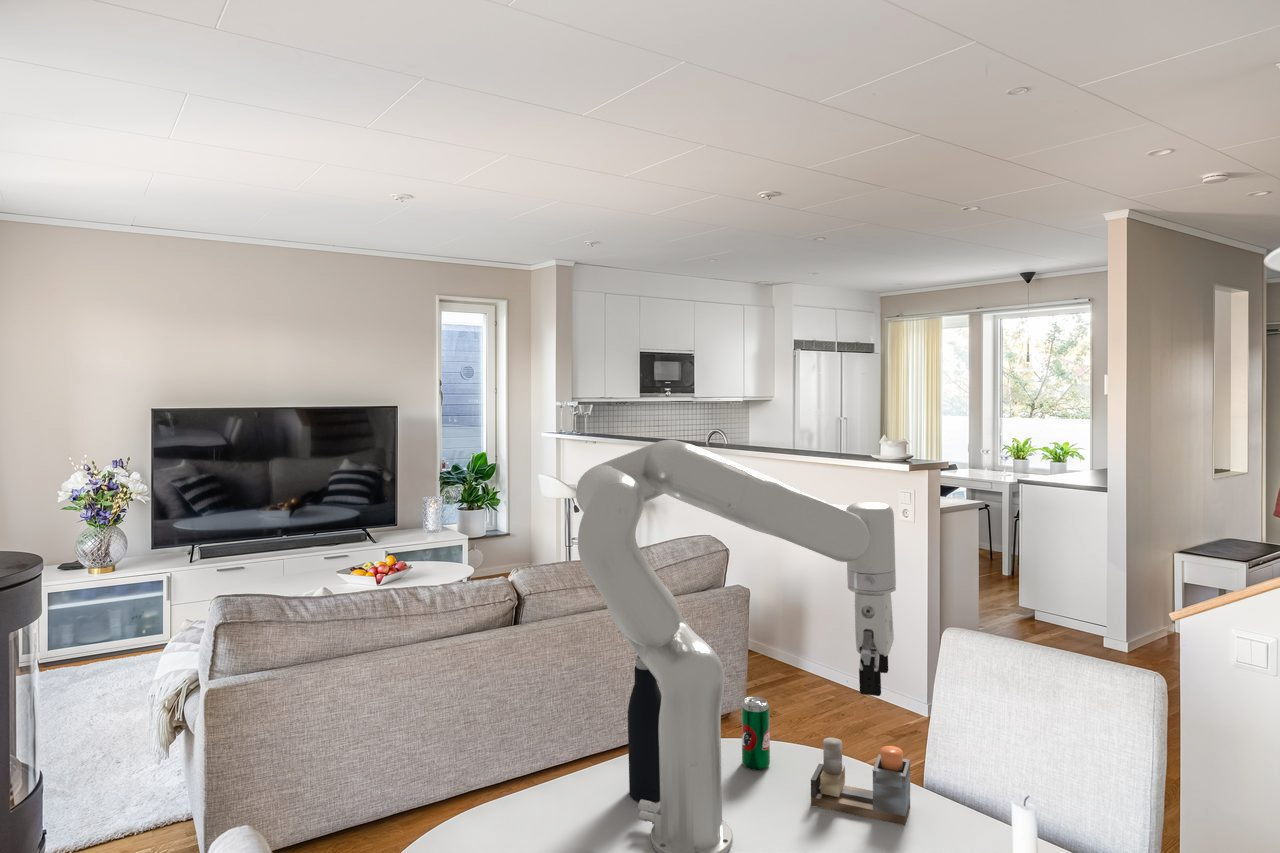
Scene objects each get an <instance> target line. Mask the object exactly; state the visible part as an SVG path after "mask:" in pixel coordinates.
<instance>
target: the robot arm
mask: <svg viewBox="0 0 1280 853" xmlns="http://www.w3.org/2000/svg"><path fill="white" fill-rule="evenodd" d="M662 495H667V496H670V497H671V498H673V499H676V500H678V501H681V502H684V503H686V504H688V505H691V506H693V507H696V508H698V509H701V510H703V511H705V512H709V513H711V514H714V515H716V516H719V517H721V518H723V519H725V520H728V521H730V522H733V523H735V524H737V525H740V526H744V527H746V528H748V529H750V530H753V531H756V532H760V533H763V534H765V535H769V536H773V537H776V538H779V539H781V540H784V541H787V542H790V543H792V544H795V545H796V546H797V545H798V546H800V547H802V548H804V549H808V550H809V551H812V552H815V553H817V554H819V555H822V556H825V557H827V558H829V559H832V560H834V561H837V562H839V563H840V562H841V563H846V576H847V577H846V579H847V580H846V581H847V590H849V591H850V592H853V593H854V631H855V647H856V652H857V653H858V654H860V657H859V668H858V672H859V674H858V679H859V681H858V682H859V693H860V695H865V696H874V697H875V696H876V697H879V696H880V697H881V695H882V676H881V675H882V674H888V672H889V655H890V652H891V649H892V647H893V644H894V638H895V637H894V636H895V634H894V622H893V619H894V618H893V604H892V602H893V601H892V595H891V594H892V593H893V592H895V591H896V590H897V581H896V580H897V579H896V578H897V576H896V575H897V574H896V547H895V546H896V544H895V541H896V539H895V514H894V510H893V508H892V507H891V506H890V505H889V504H887V503H884V502H878V501H862V502H855V503H852V504H846V505H845V504H831V503H829V502H826V501H824V500H821V499H819V498H817V497H814V496H811V495H810V494H807V493H804V492H802V491H800V490H797V489H795V488H794V487H791V486H789V485H787V484H785V483H784V482H781V481H779V480H777V479H775V478H772V477H770V476H768V475H766V474H764V473H761V472H759V471H757V470H754V469H752V468H749V467H747V466H744V465H742V464H739V463H737V462H736V461H735V462H734V461H732V460H731V459H727V458H725V457H723V456H721V455H718V454H716V453H714V452H711V451H709V450H706V449H704V448H702V447H699V446H696V445H694V444H692V443H687V442H684V441H679V440H676V439H665V440H664V439H663V440H659V441H657V442H654V443H651V444H649V445H646V446H644V447H641V448H638V449H636V450H633V451H631V452H628V453H626V454H624V455H620V456H618V457H615V458H612V459H610V460H607V461H604V462H602V463H599V464H597V465H595V466H593V467H591V468H589V469H588V470H586V471H585V472H584V473H583V474H582V476H581V477H580V478H579V480H578V481H577V485H576V489H575V497H576V502H577V504H578V506H579V508H580V510H581V512H583V514H582V517H581V519H580V520H581V521H580V523H579V526H578V532H577V552H578V556H579V561H580V563H581V565H582V567H583V569H584V571H585V573H586V574H587V576H588V578H589V579H590V581H591V582H592V583H593V585H594V586H595V588H596V590H597V591H598V593H599V595H600V596H601V598H602V599H603V601H604V602H605V604H606V608H607V611H608V614H609V616H610V618H611V619H612V621H613V623H614V624H615V626H616V627H617V628H618V630H619V631H620V633H621V634H622V635H623V636H624V638H625V639H626V641H627V642H628V643H629V645H630V646H631V648H632V649H633V651H634V652H635V653H636V654H637V655H638V656H639V657H640V659H641V660H642V661H643V663H644V664H645V666H646V667H647V668H648V670H649V671H650V672H651V674H652V675H653V676H654V678H655V679H656V681H657V684H658V686H659V689H660V693H661V706H660V712H659V726H658V734H659V772H660V801H658V802H655V803H654V802H651V801H647V800H643V799H641V800H640V802H638V804H637V805H638V807H637V809H638V810H637V811H638V812H639V814H638V820H639V821H642V822H649V823H651V824H652V828H651V831H650V843H651V845H652V847H653V849H654V851H656V852H657V853H728V852H729V851H730V849H731V848H732V846H733V843H734V841H733V837H734V836H733V831H732V828H731V826H730V825H729V824H728V823H727V822H726V821H725V820H724V819H723V804H722V803H723V798H722V797H723V796H722V795H723V794H722V793H723V792H722V789H723V786H722V785H723V784H722V738H721V737H722V727H721V726H722V724H721V723H722V722H721V721H722V717H721V716H722V707H723V706H722V705H723V698H724V692H725V691H724V690H725V683H726V682H725V681H726V680H725V679H726V678H725V672H724V671H725V670H724V667H723V664H722V662H721V660H720V658H719V656H718V654H717V653H716V652H715V650H714V649H713V648H712V647H711V646H710V645H709V644H708V643H707V642H706V641H705V640H704V639H703V638H702V637H701V636H699V635H698V634H697V633H696V632H695V631H694V630H693V629H692V628H691V627H690V625H689V624H688V623H687V621H686V620H685V619H684V617H683V615H682V614H681V609H680V606H679V603H678V602H677V599H676V598H675V596H674V594H673V593H672V592H671V590H670V589H668V587H667V586H666V585H665V584H664V583H663V581H662V580H661V578H660V576H658V575H657V573H656V572H655V570H654V569H653V568H652V566H651V565H650V563H649V562H648V560H647V558H646V557H645V555H644V554H643V552H642V551H641V549H640V547H639V545H638V542H637V539H636V534H637V533H636V532H637V528H638V524H639V521H640V518H641V516H642V513H643V510H644V504H645V503H646V502H650V501H652V500H653V499H655V498H658V497H661V496H662ZM637 655H636V656H637Z"/></svg>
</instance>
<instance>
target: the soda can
mask: <svg viewBox="0 0 1280 853" xmlns="http://www.w3.org/2000/svg"><path fill="white" fill-rule="evenodd" d="M770 724H771V723H770V706H769V704H768V700H767V699H766V698H764V697H759V696H748V697H746V698H744V699H743V703H742V705H741V761H742V762H741V764H743V765H744V766H745V768H747V769H748V768H749V770H752V771H762V770H765V769H767V767H769V765H771V747H770V746H771V738H770V736H771V735H770V732H771V731H770V730H771V729H770V728H771V727H770Z"/></svg>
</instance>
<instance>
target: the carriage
mask: <svg viewBox="0 0 1280 853" xmlns="http://www.w3.org/2000/svg"><path fill="white" fill-rule="evenodd" d="M822 743H823V752H822V753H823V764H824V770H823V772H822V774H821V776H820V779H821V794H826V795H831V796H836V797H839V796H840V793H841V791H842V789H843V786H844V785H845V784H846V765H843V741H842V740H841V739H839V738H836V737H826V738H824V739H823V742H822Z"/></svg>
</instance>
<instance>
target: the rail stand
mask: <svg viewBox="0 0 1280 853" xmlns="http://www.w3.org/2000/svg"><path fill="white" fill-rule="evenodd" d="M823 770H824V763H818V765H817V766H816V768H815V771H814V772H813V774H812V777H811V778H810V806H811V807H814V808H818V809H819V808H820V809H824V810H828V811H834V812H838V813H843V814H848V815H851V816H857V817H863V818H868V819H872V820H877V821H881V822H886V823H891V824H896V825H901V826H903V827H904V826H905V827H906V825H907V822H908V817H909V814H910V809H911V759H907V758H903V769H902V770H900V771H889V770H885V769H883V768H882V767H881V753H879V754H878V756H877V758H876V761H875V763H874V766H873V769H872V790H870V789H865V788H859V787H854V786H851V785H845V784H844V786H843V789H842V791H841V793H840V796H839V797H836V796H831V795H826V794H821V779H820V776H821V774H822V772H823Z"/></svg>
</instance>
